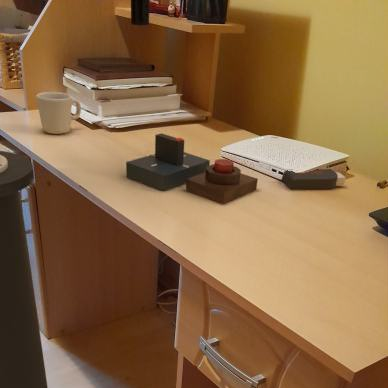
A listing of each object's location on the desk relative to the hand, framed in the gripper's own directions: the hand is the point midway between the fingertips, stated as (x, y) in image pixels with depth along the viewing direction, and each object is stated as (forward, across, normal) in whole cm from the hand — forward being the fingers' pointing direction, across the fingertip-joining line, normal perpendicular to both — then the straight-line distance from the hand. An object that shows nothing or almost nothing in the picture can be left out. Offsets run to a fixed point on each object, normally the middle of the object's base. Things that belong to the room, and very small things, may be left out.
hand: (140, 24), depth 97 cm
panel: (+25, +11, -3) cm, 27 cm away
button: (+21, +23, -1) cm, 31 cm away
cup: (+25, -27, +1) cm, 37 cm away
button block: (+25, +23, -1) cm, 34 cm away
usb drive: (+25, +34, +16) cm, 45 cm away
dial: (+22, +11, -3) cm, 25 cm away
